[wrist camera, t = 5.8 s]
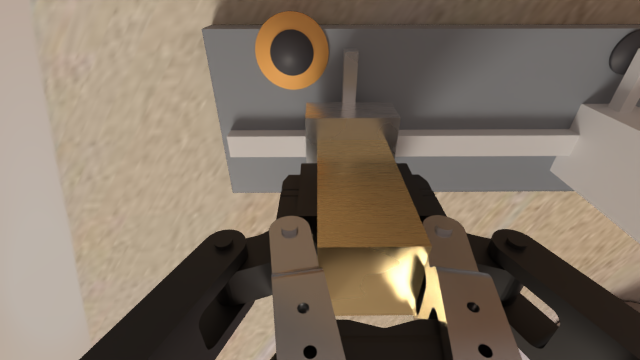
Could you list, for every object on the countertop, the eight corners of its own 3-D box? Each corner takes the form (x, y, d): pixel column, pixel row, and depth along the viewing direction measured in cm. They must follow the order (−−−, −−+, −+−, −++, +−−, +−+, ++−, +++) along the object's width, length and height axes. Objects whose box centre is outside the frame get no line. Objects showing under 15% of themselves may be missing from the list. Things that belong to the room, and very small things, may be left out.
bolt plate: (666, 8, 15) (956, 31, 8) (575, 177, 20) (704, 277, 13) (208, 8, 15) (116, 32, 8) (238, 179, 20) (198, 280, 13)
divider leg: (394, 48, 14) (488, 131, 6) (377, 182, 18) (422, 332, 10) (305, 48, 14) (292, 132, 6) (308, 183, 18) (302, 333, 10)
